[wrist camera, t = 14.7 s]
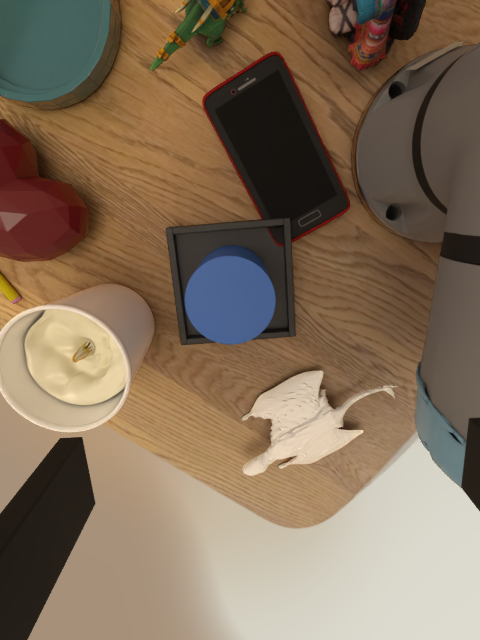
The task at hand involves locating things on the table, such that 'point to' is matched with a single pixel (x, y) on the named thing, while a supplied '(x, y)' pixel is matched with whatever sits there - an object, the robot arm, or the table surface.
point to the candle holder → (75, 357)
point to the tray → (203, 239)
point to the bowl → (56, 49)
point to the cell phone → (276, 147)
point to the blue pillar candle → (230, 296)
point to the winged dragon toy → (302, 422)
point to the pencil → (8, 290)
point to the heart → (35, 205)
